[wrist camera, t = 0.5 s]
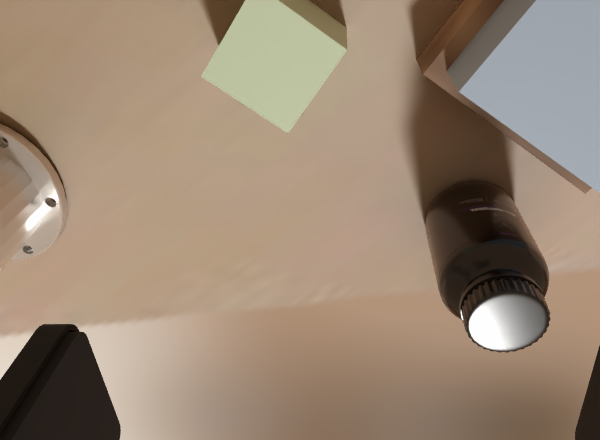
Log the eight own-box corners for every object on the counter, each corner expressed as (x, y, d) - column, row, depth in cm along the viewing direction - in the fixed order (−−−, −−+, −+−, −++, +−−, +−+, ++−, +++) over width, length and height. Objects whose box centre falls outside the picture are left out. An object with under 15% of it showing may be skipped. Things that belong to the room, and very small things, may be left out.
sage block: (295, 101, 38) (288, 133, 32) (221, 51, 36) (201, 76, 31) (346, 27, 35) (347, 49, 30) (268, -30, 33) (255, -17, 28)
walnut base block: (564, 167, 39) (585, 193, 36) (415, 57, 36) (423, 74, 33) (743, -1, 33) (789, 10, 29) (582, -155, 29) (613, -162, 26)
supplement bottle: (495, 162, 39) (551, 258, 29) (527, 233, 42) (587, 343, 31) (408, 202, 41) (430, 304, 31) (443, 266, 44) (474, 379, 33)
